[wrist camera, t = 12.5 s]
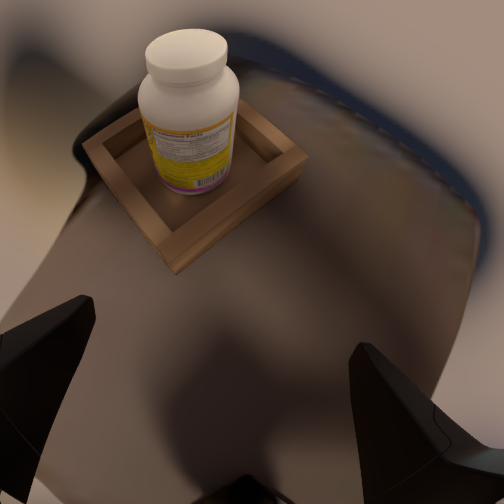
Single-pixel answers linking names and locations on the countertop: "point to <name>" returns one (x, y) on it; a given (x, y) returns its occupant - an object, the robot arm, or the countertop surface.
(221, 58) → the supplement bottle
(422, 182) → the countertop surface
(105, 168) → the box
